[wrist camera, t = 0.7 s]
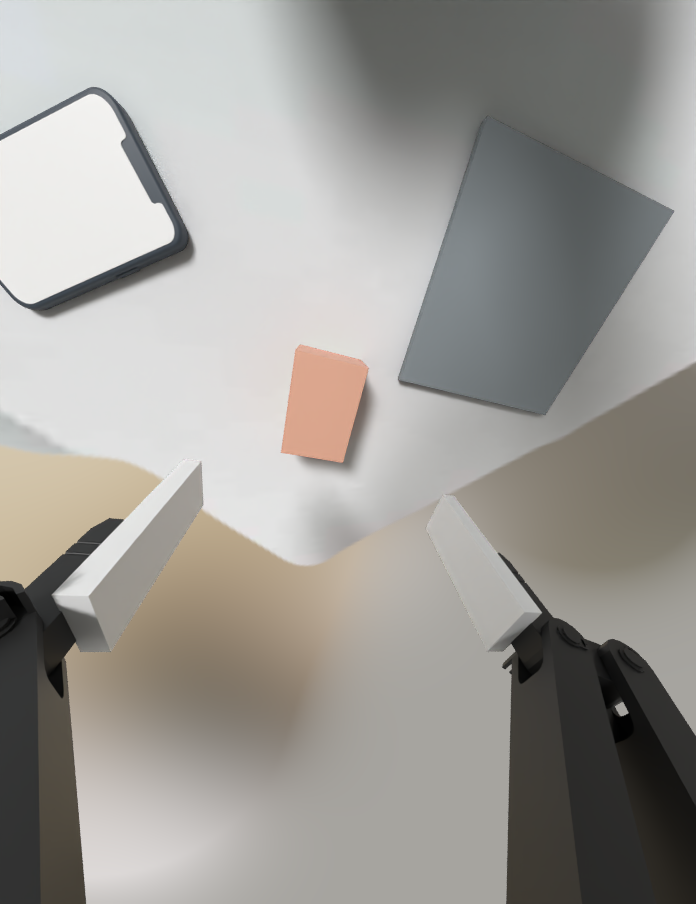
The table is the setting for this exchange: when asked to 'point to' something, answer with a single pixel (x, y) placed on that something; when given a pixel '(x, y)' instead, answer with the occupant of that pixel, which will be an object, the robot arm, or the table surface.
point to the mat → (526, 272)
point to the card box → (322, 403)
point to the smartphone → (79, 202)
